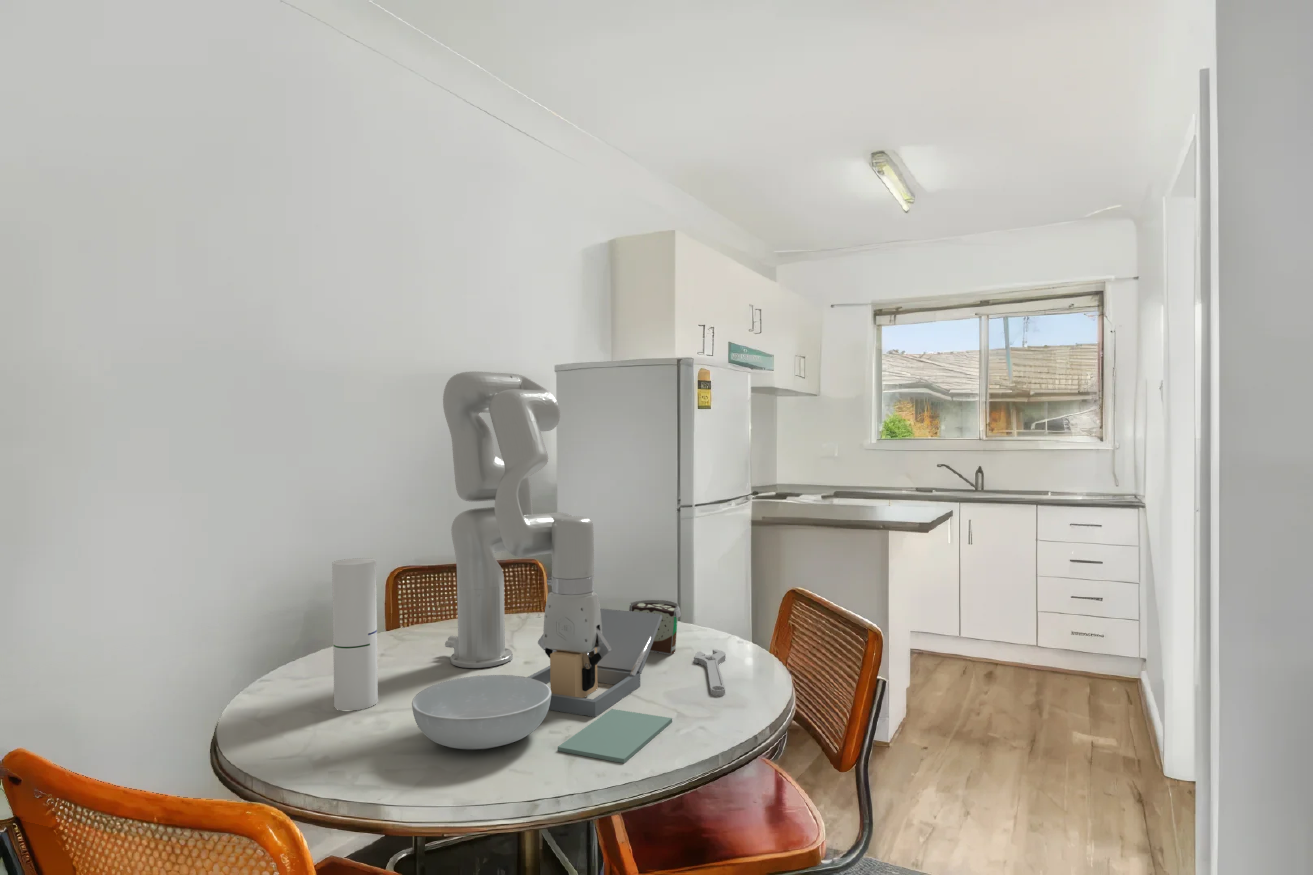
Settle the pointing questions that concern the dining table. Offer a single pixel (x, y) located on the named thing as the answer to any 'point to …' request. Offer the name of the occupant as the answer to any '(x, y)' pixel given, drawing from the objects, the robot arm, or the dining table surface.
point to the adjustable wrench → (713, 670)
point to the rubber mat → (615, 735)
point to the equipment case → (613, 661)
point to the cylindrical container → (355, 633)
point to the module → (568, 674)
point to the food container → (668, 624)
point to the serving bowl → (481, 710)
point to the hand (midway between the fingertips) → (574, 685)
